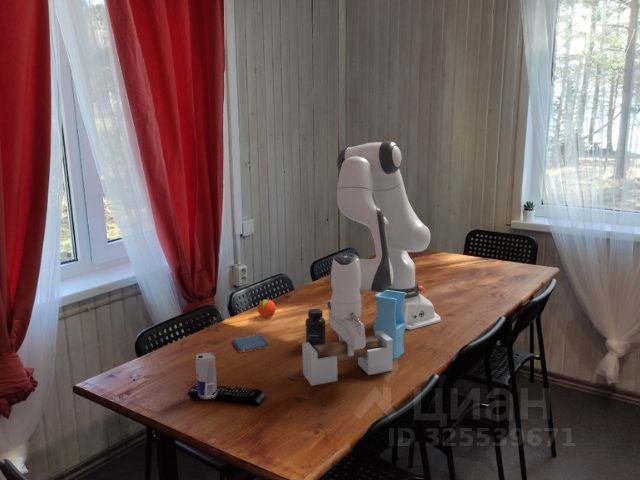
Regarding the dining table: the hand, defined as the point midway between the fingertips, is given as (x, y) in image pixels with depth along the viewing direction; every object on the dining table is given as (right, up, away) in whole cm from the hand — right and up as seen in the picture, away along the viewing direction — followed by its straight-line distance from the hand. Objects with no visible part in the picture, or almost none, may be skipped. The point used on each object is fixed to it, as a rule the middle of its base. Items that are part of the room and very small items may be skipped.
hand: (347, 352), depth 171 cm
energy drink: (-40, -10, -10) cm, 42 cm away
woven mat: (-32, -3, +24) cm, 40 cm away
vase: (+15, -3, +15) cm, 21 cm away
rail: (0, -2, 0) cm, 2 cm away
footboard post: (-7, -7, -1) cm, 10 cm away
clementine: (-29, +3, +49) cm, 57 cm away
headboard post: (+8, -6, +4) cm, 10 cm away
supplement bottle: (-10, -2, +23) cm, 25 cm away
